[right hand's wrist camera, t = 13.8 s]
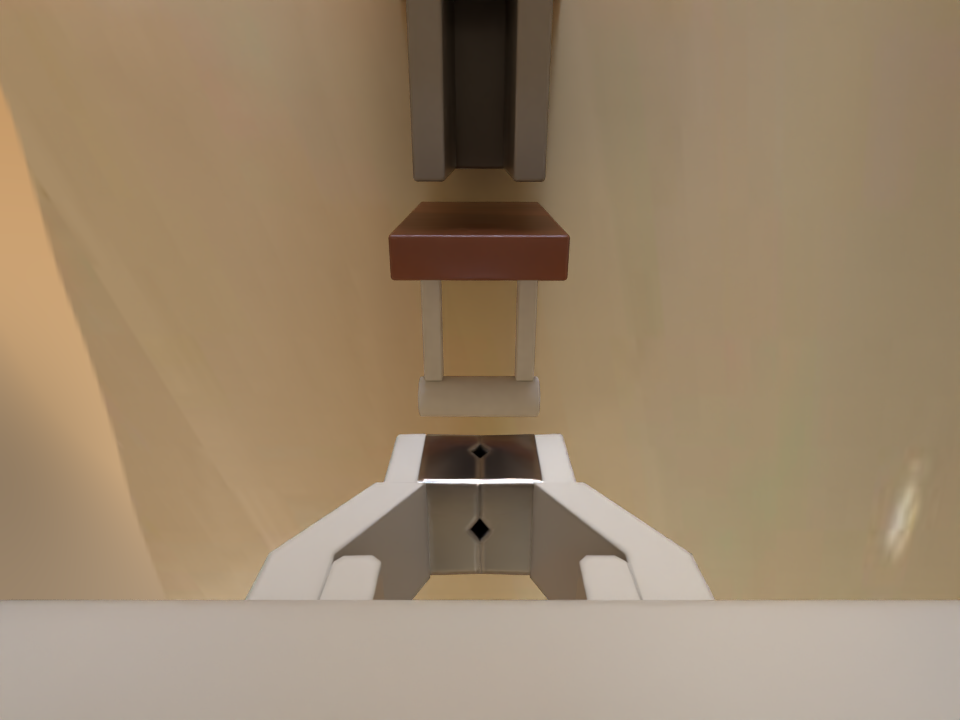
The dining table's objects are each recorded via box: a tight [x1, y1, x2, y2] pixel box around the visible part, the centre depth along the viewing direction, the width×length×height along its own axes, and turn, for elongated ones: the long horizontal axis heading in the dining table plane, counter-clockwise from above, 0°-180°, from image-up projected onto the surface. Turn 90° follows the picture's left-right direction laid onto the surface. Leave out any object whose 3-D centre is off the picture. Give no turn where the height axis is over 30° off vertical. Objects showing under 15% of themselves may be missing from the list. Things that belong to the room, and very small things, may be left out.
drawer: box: [389, 0, 570, 417], centre depth 16 cm, size 23×5×8 cm, turn 0°
